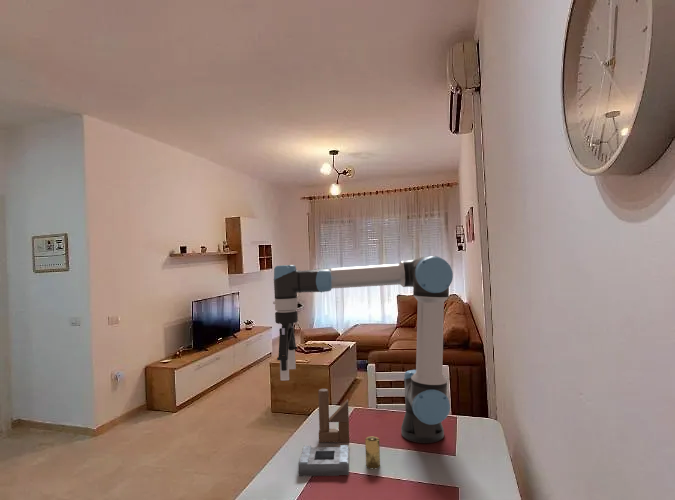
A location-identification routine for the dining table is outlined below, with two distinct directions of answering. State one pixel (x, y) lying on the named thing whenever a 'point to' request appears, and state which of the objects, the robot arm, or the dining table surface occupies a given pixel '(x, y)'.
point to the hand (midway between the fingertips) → (288, 374)
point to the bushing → (372, 452)
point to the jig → (324, 461)
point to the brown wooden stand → (332, 420)
